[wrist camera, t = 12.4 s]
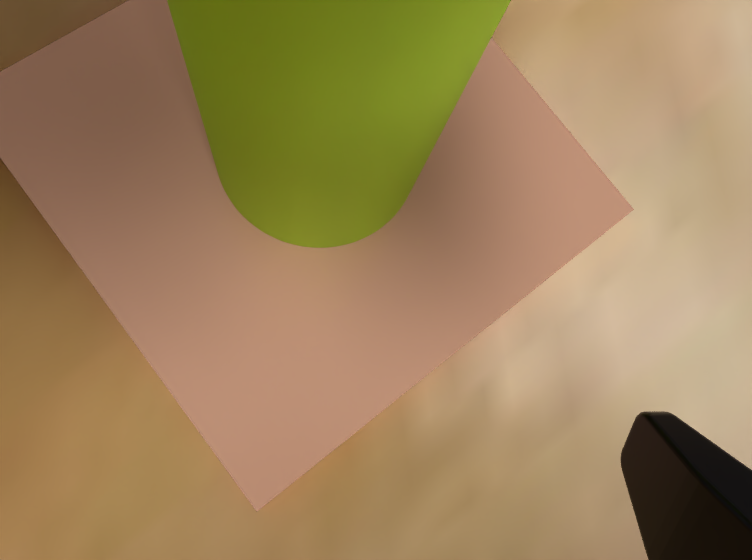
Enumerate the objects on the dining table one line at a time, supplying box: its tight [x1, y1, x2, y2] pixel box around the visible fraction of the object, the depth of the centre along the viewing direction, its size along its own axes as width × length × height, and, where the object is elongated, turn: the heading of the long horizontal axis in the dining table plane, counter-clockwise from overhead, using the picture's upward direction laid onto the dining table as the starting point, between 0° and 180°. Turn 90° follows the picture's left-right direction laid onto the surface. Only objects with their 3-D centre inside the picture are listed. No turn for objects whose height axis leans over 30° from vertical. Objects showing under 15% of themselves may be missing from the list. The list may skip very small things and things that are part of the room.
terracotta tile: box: [0, 0, 634, 511], centre depth 19 cm, size 14×14×1 cm
